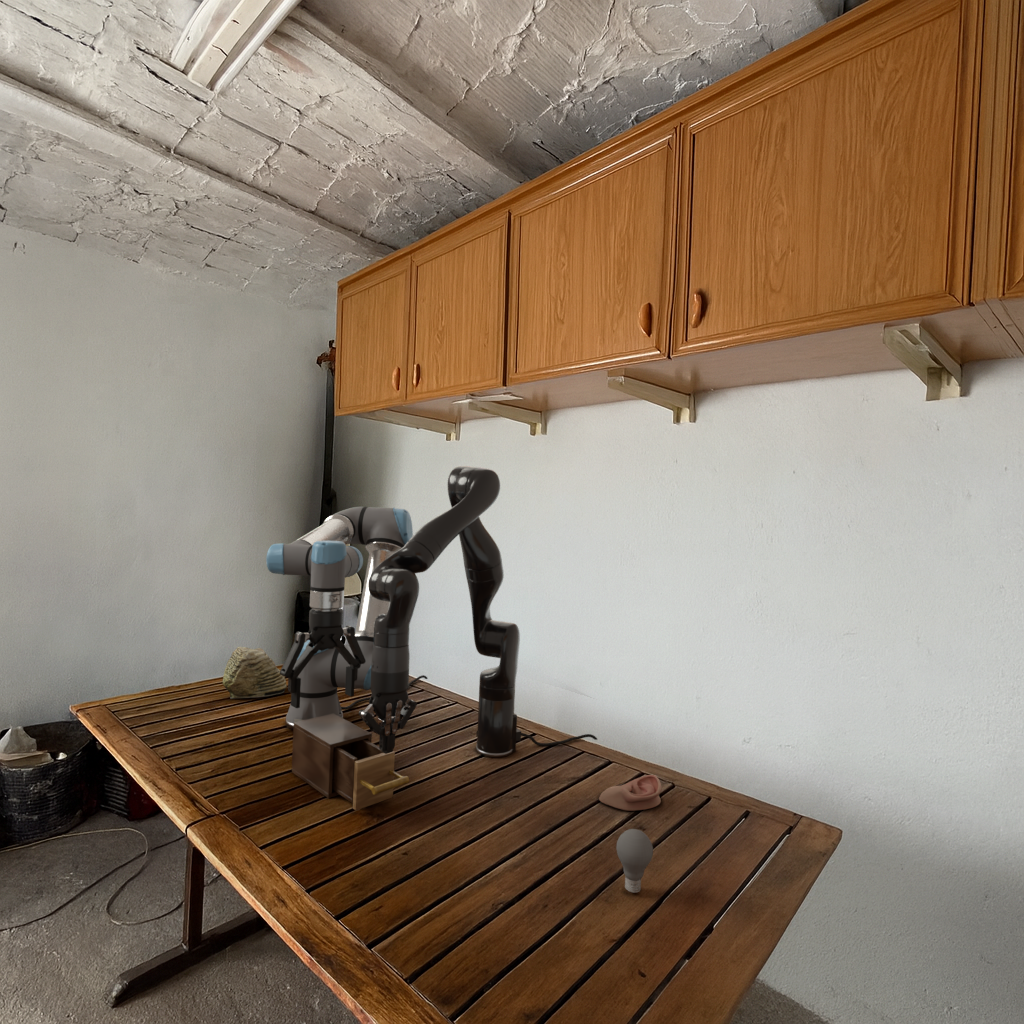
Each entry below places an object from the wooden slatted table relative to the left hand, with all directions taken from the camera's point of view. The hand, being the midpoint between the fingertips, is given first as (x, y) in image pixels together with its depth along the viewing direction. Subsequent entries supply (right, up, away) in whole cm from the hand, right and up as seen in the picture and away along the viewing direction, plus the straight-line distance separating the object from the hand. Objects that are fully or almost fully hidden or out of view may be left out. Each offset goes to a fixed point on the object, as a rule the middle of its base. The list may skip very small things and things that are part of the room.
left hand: (323, 700), depth 145 cm
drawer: (+12, -16, -12) cm, 23 cm away
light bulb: (+63, -20, -40) cm, 78 cm away
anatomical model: (+69, -20, -7) cm, 72 cm away
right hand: (+18, -5, -18) cm, 26 cm away
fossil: (-37, -14, +53) cm, 66 cm away
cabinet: (+2, -17, -3) cm, 17 cm away
